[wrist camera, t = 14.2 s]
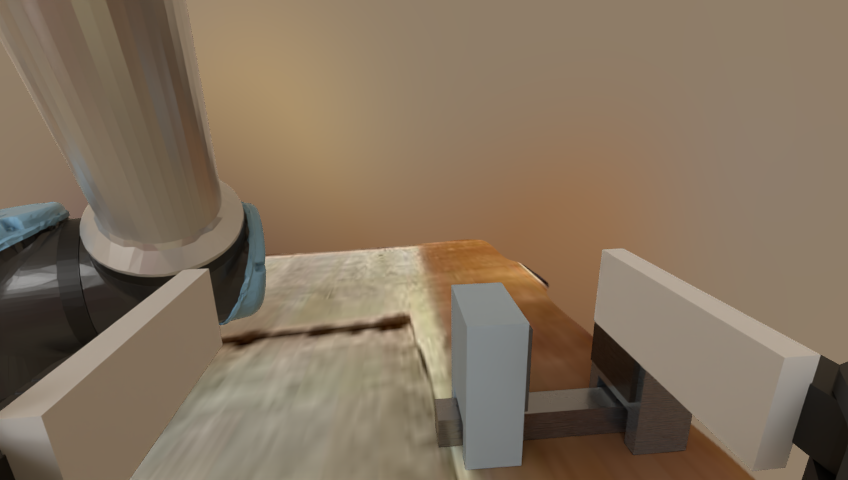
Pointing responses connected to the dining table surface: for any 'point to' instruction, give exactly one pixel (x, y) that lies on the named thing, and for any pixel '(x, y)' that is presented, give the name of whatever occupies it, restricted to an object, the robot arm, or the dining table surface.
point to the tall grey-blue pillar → (490, 373)
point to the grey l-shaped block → (595, 406)
